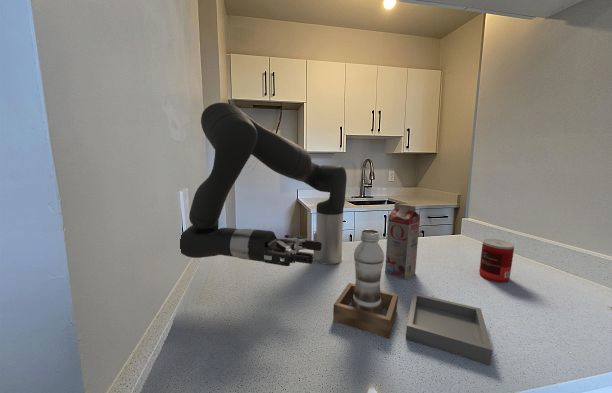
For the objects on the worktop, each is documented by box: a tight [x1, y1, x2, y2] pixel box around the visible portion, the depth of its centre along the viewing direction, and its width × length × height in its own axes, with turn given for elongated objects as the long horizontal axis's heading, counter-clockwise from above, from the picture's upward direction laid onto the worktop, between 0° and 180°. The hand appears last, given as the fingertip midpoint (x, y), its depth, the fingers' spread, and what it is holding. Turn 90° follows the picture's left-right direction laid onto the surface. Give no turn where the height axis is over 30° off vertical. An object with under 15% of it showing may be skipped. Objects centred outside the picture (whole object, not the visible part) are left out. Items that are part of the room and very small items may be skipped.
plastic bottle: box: [351, 228, 385, 315], centre depth 57 cm, size 6×7×20 cm
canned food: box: [479, 238, 515, 283], centre depth 78 cm, size 8×8×11 cm
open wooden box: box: [332, 282, 399, 340], centre depth 59 cm, size 12×11×4 cm
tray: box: [405, 292, 493, 366], centre depth 54 cm, size 14×14×3 cm
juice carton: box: [384, 202, 421, 281], centre depth 79 cm, size 7×7×22 cm
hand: (317, 252), depth 59 cm, fingers open, 8 cm apart
